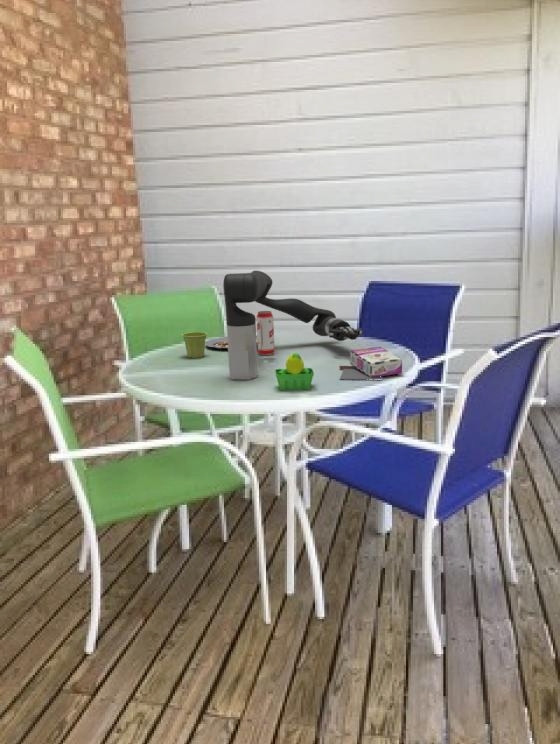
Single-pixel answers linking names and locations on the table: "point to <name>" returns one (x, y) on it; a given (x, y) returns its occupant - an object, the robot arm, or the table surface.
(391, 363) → the candy bar box
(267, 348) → the beer can
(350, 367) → the strip
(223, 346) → the food plate
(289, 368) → the fruit basket
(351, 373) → the mat
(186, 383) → the table surface
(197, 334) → the plant pot
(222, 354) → the table surface
